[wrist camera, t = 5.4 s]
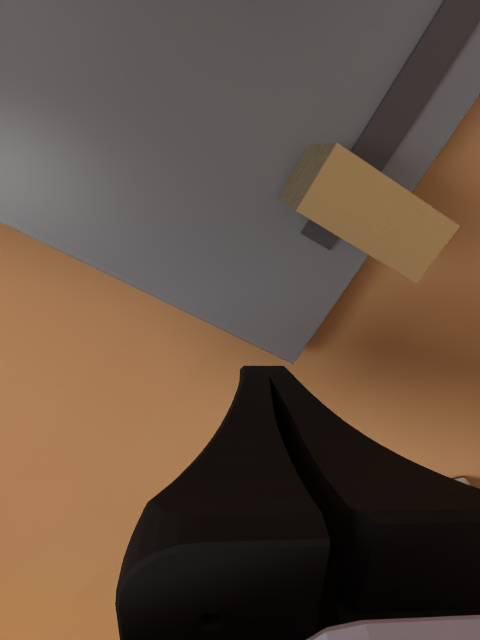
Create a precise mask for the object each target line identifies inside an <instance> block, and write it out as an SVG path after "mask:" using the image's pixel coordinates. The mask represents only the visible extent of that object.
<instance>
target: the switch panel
mask: <svg viewBox="0 0 480 640" xmlns="http://www.w3.org/2000/svg"><path fill="white" fill-rule="evenodd" d="M479 95H480V0H0V222H1V223H3V224H5V225H8V226H10V227H12V228H14V229H16V230H18V231H20V232H22V233H24V234H26V235H28V236H30V237H32V238H34V239H36V240H38V241H40V242H43V243H45V244H47V245H49V246H51V247H53V248H55V249H57V250H59V251H61V252H63V253H65V254H67V255H69V256H71V257H73V258H75V259H78V260H80V261H82V262H84V263H86V264H88V265H90V266H92V267H94V268H96V269H98V270H100V271H102V272H104V273H106V274H108V275H110V276H113V277H115V278H117V279H119V280H121V281H123V282H125V283H127V284H129V285H131V286H133V287H135V288H137V289H139V290H141V291H143V292H145V293H148V294H150V295H152V296H154V297H156V298H158V299H160V300H162V301H164V302H166V303H168V304H170V305H172V306H174V307H176V308H178V309H180V310H183V311H185V312H187V313H189V314H191V315H193V316H195V317H197V318H199V319H201V320H203V321H205V322H207V323H209V324H211V325H213V326H215V327H218V328H220V329H222V330H224V331H226V332H228V333H230V334H232V335H234V336H236V337H238V338H240V339H242V340H244V341H246V342H248V343H250V344H253V345H255V346H257V347H259V348H261V349H263V350H265V351H267V352H269V353H271V354H273V355H275V356H277V357H279V358H281V359H283V360H286V361H288V362H290V363H292V364H294V362H295V361H296V359H297V358H298V356H299V355H300V354H301V352H302V351H303V349H304V348H305V346H306V345H307V343H308V342H309V341H310V339H311V338H312V336H313V335H314V333H315V332H316V330H317V329H318V328H319V326H320V325H321V323H322V322H323V320H324V319H325V317H326V316H327V315H328V313H329V312H330V310H331V309H332V307H333V306H334V304H335V303H336V302H337V300H338V299H339V297H340V296H341V294H342V293H343V291H344V290H345V289H346V287H347V286H348V284H349V283H350V281H351V280H352V278H353V277H354V276H355V274H356V273H357V271H358V270H359V268H360V267H361V265H362V264H363V262H364V261H365V260H366V258H367V257H368V254H366V253H365V252H363V251H361V250H360V249H358V248H356V247H355V246H353V245H351V244H350V243H348V242H346V241H345V240H343V239H341V238H340V237H338V236H337V235H335V234H333V233H332V232H330V231H328V230H327V229H325V228H323V227H322V226H320V225H318V224H317V223H315V222H313V221H312V220H310V219H308V218H307V217H305V216H303V215H302V214H300V213H298V212H297V211H295V210H294V209H292V208H291V207H290V206H288V205H287V204H285V203H284V202H283V201H281V200H280V199H278V196H279V194H280V193H281V191H282V189H283V188H284V186H285V184H286V182H287V181H288V179H289V177H290V175H291V174H292V172H293V170H294V169H295V167H296V165H297V163H298V162H299V160H300V158H301V156H302V155H303V153H304V151H305V149H306V148H307V146H308V145H309V144H323V143H339V144H340V145H341V146H343V147H344V148H346V149H347V150H349V151H350V152H352V153H353V154H355V155H356V156H358V157H359V158H361V159H362V160H364V161H365V162H367V163H368V164H370V165H371V166H373V167H374V168H375V169H377V170H378V171H380V172H381V173H383V174H384V175H386V176H387V177H389V178H390V179H392V180H393V181H395V182H396V183H398V184H399V185H401V186H402V187H404V188H405V189H407V190H408V191H409V192H411V193H412V192H413V190H414V189H415V187H416V186H417V184H418V183H419V182H420V180H421V179H422V177H423V176H424V174H425V173H426V171H427V170H428V169H429V167H430V166H431V164H432V163H433V161H434V160H435V158H436V157H437V156H438V154H439V153H440V151H441V150H442V148H443V147H444V145H445V144H446V143H447V141H448V140H449V138H450V137H451V135H452V134H453V132H454V131H455V130H456V128H457V127H458V125H459V124H460V122H461V121H462V119H463V118H464V117H465V115H466V114H467V112H468V111H469V109H470V108H471V106H472V105H473V104H474V102H475V101H476V99H477V98H478V96H479Z"/></svg>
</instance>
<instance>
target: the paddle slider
mask: <svg viewBox="0 0 480 640" xmlns="http://www.w3.org/2000/svg"><path fill="white" fill-rule="evenodd" d="M278 199H280V200H281V201H283V202H284V203H285V204H287V205H288V206H290V207H291V208H292V209H294V210H295V211H297V212H298V213H300V214H302V215H303V216H305V217H307V218H308V219H310V220H312V221H313V222H315V223H317V224H318V225H320V226H322V227H323V228H325V229H327V230H328V231H330V232H332V233H333V234H335V235H337V236H338V237H340V238H341V239H343V240H345V241H346V242H348V243H350V244H351V245H353V246H355V247H356V248H358V249H360V250H361V251H363V252H365V253H366V254H368V255H370V256H371V257H373V258H375V259H376V260H378V261H380V262H381V263H383V264H385V265H386V266H388V267H390V268H391V269H393V270H395V271H396V272H398V273H400V274H401V275H403V276H404V277H406V278H408V279H409V280H411V281H413V282H414V283H416V284H417V283H418V281H419V280H420V279H421V277H422V276H423V275H424V273H425V272H426V271H427V269H428V268H429V267H430V265H431V264H432V263H433V261H434V260H435V259H436V257H437V256H438V255H439V254H440V252H441V251H442V250H443V248H444V247H445V246H446V244H447V243H448V242H449V240H450V239H451V238H452V236H453V235H454V234H455V232H456V231H457V230H458V228H459V227H460V225H458V224H457V223H455V222H454V221H452V220H451V219H449V218H448V217H446V216H445V215H443V214H442V213H441V212H439V211H438V210H436V209H435V208H433V207H432V206H430V205H429V204H427V203H426V202H424V201H423V200H421V199H420V198H418V197H417V196H415V195H414V194H412V193H411V192H409V191H408V190H407V189H405V188H404V187H402V186H401V185H399V184H398V183H396V182H395V181H393V180H392V179H390V178H389V177H387V176H386V175H384V174H383V173H381V172H380V171H378V170H377V169H375V168H374V167H373V166H371V165H370V164H368V163H367V162H365V161H364V160H362V159H361V158H359V157H358V156H356V155H355V154H353V153H352V152H350V151H349V150H347V149H346V148H344V147H343V146H341V145H340V144H339V143H323V144H309V145H308V146H307V148H306V149H305V151H304V153H303V155H302V156H301V158H300V160H299V162H298V163H297V165H296V167H295V169H294V170H293V172H292V174H291V175H290V177H289V179H288V181H287V182H286V184H285V186H284V188H283V189H282V191H281V193H280V194H279V196H278Z"/></svg>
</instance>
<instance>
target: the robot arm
mask: <svg viewBox="0 0 480 640" xmlns="http://www.w3.org/2000/svg"><path fill="white" fill-rule="evenodd" d="M115 605H116V613H117V620H118V628H119V635H120V640H480V489H479V488H476V487H473V486H471V485H468V484H465V483H462V482H460V481H457V480H454V479H452V478H449V477H446V476H444V475H441V474H439V473H437V472H434V471H432V470H430V469H428V468H425V467H423V466H421V465H419V464H417V463H414V462H412V461H410V460H408V459H406V458H404V457H402V456H400V455H398V454H396V453H395V452H393V451H391V450H389V449H387V448H386V447H384V446H382V445H380V444H378V443H377V442H375V441H373V440H372V439H370V438H368V437H367V436H365V435H364V434H362V433H361V432H359V431H358V430H356V429H355V428H353V427H352V426H350V425H349V424H348V423H346V422H345V421H343V420H342V419H341V418H340V417H338V416H337V415H336V414H335V413H333V412H332V411H331V410H330V409H328V408H327V407H326V406H325V405H324V404H322V403H321V402H320V401H319V400H318V399H317V398H316V397H315V396H314V395H312V394H311V393H310V392H309V391H308V390H307V389H306V388H305V387H304V386H303V385H302V384H301V383H300V382H299V381H298V380H297V379H296V378H295V377H294V376H293V375H292V374H291V373H290V372H289V371H288V370H287V369H286V368H285V367H284V366H243V367H242V368H241V369H240V382H239V385H238V389H237V392H236V394H235V397H234V400H233V402H232V404H231V406H230V408H229V410H228V412H227V414H226V416H225V418H224V420H223V422H222V424H221V425H220V427H219V429H218V430H217V432H216V433H215V435H214V436H213V438H212V439H211V440H210V442H209V443H208V444H207V446H206V447H205V448H204V449H203V451H202V452H201V453H200V454H199V456H198V457H197V458H196V459H195V460H194V461H193V462H192V463H191V464H190V465H189V466H188V467H187V468H186V469H185V470H184V471H183V472H182V473H181V475H180V476H179V477H178V478H176V479H175V480H174V481H173V482H172V483H171V484H170V485H168V486H167V487H166V488H165V489H164V490H162V491H161V492H160V493H159V494H157V495H156V496H155V497H154V498H153V499H151V500H150V501H148V503H147V505H146V507H145V508H144V510H143V513H142V515H141V517H140V519H139V521H138V523H137V525H136V527H135V530H134V532H133V534H132V536H131V539H130V542H129V544H128V547H127V550H126V553H125V556H124V559H123V563H122V567H121V571H120V576H119V580H118V585H117V590H116V602H115Z"/></svg>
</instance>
